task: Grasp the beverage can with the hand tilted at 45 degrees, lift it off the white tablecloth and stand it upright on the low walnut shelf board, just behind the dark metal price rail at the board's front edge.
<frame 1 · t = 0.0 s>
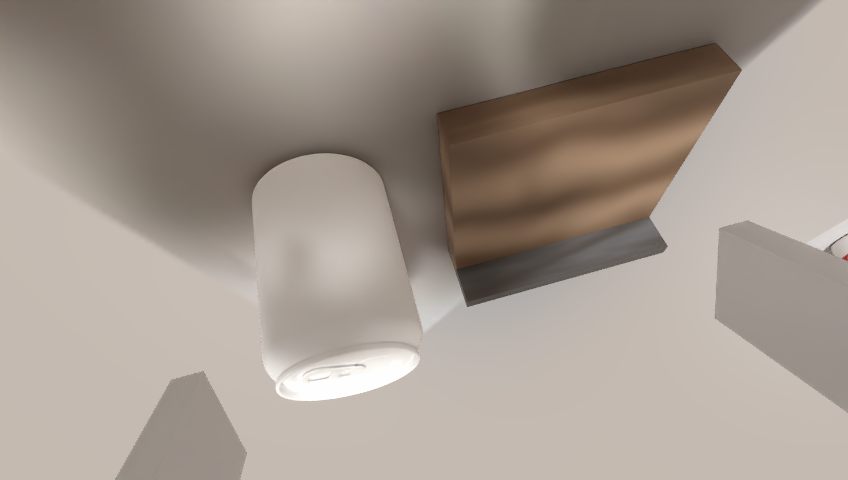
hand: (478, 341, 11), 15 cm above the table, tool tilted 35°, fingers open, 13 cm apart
beverage can: (318, 188, 28), on the table
shelf board: (555, 167, 33), on the table
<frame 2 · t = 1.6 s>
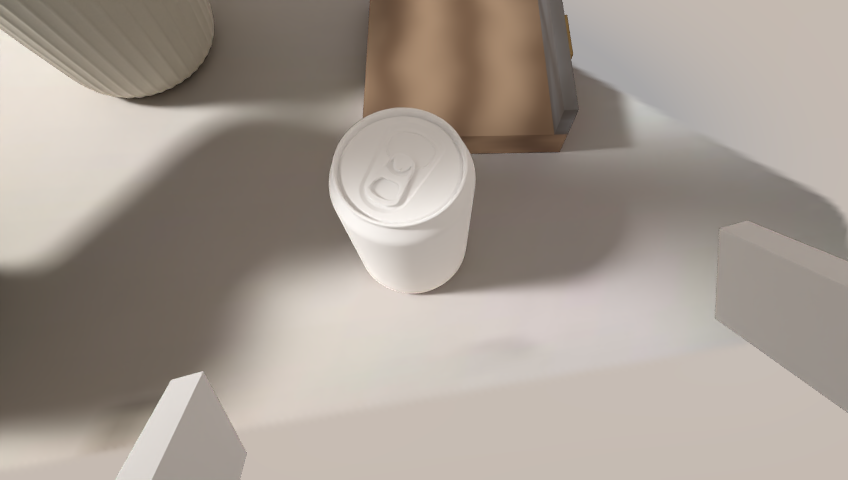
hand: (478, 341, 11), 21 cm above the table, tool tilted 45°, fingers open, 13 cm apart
beverage can: (413, 245, 35), on the table
shelf board: (459, 72, 40), on the table
canister: (154, 52, 43), on the table
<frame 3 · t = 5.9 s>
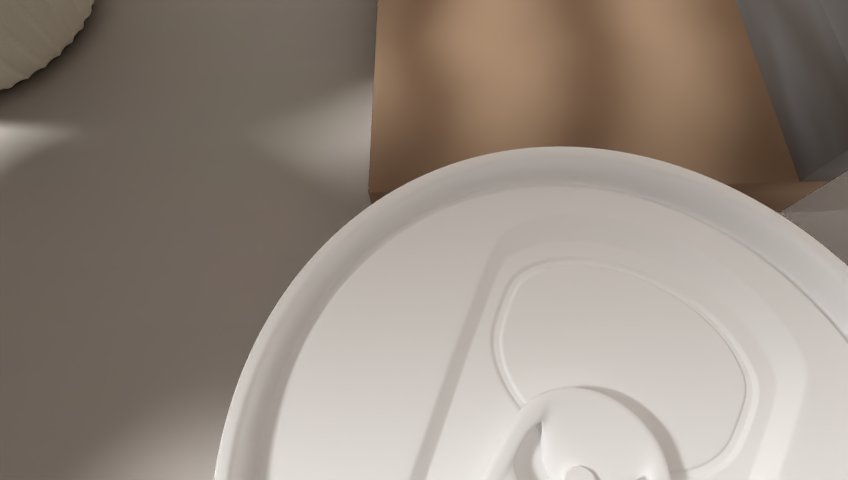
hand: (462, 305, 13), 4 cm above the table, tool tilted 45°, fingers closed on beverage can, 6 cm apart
beverage can: (484, 432, 15), on the table, touching gripper
shelf board: (552, 53, 21), on the table
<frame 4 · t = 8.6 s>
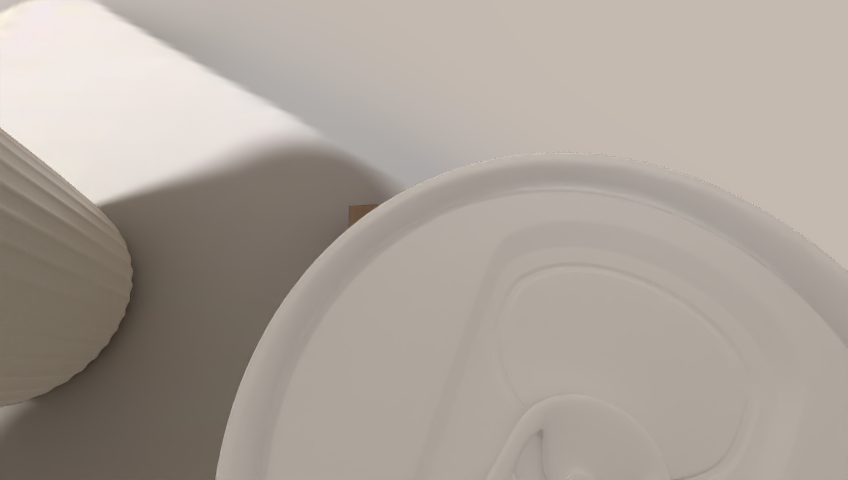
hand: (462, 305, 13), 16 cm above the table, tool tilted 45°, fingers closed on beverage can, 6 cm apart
beverage can: (485, 434, 15), point 12 cm above the table, touching gripper
shelf board: (478, 336, 29), on the table
canister: (54, 303, 31), on the table
when the fingers open (8 cm above the table, at t = 11.4 s): beverage can moves 3 cm, resting on shelf board.
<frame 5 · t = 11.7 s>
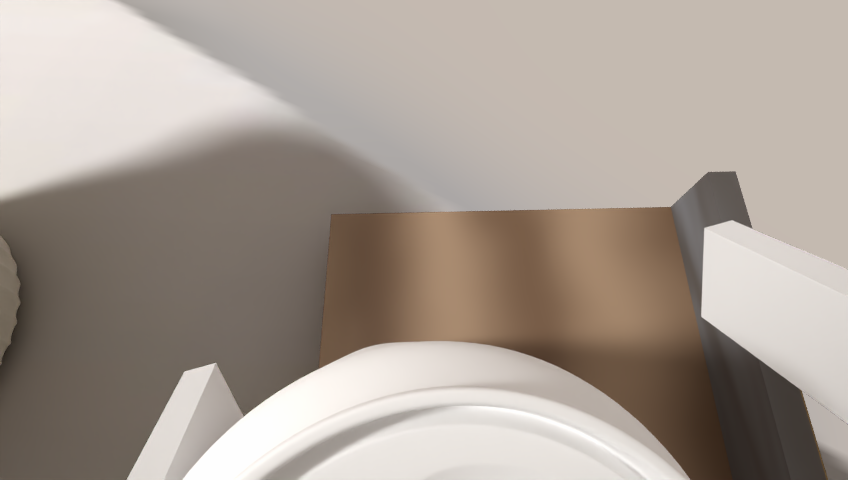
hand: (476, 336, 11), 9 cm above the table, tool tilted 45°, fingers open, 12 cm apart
beverage can: (396, 460, 16), point 3 cm above the table, touching gripper, shelf board
shelf board: (516, 416, 19), on the table
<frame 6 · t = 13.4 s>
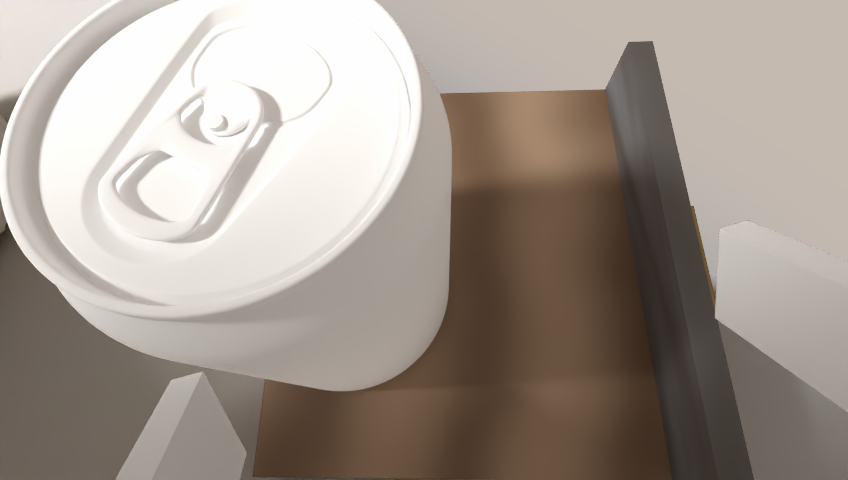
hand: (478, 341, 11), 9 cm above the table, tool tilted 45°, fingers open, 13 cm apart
beverage can: (352, 291, 19), point 2 cm above the table, touching shelf board
shelf board: (463, 272, 21), on the table
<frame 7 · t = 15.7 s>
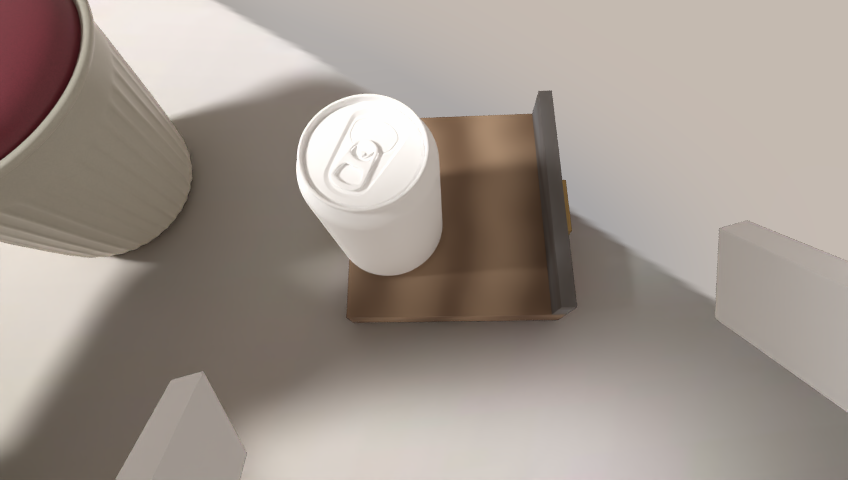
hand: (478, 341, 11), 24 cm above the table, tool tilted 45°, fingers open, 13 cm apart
beverage can: (391, 229, 35), point 2 cm above the table, touching shelf board
shelf board: (451, 220, 38), on the table
canister: (131, 193, 41), on the table
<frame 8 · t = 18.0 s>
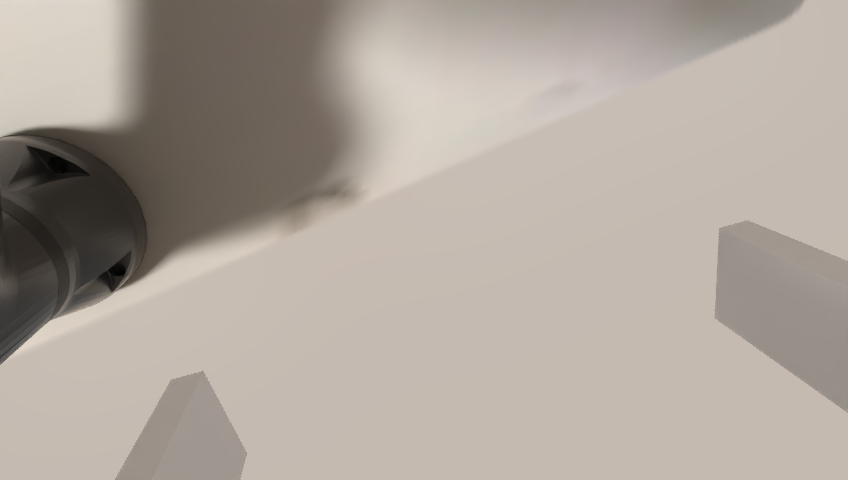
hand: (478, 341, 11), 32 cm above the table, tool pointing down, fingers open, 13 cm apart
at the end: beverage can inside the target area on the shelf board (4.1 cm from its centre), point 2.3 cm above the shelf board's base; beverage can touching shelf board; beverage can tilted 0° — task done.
